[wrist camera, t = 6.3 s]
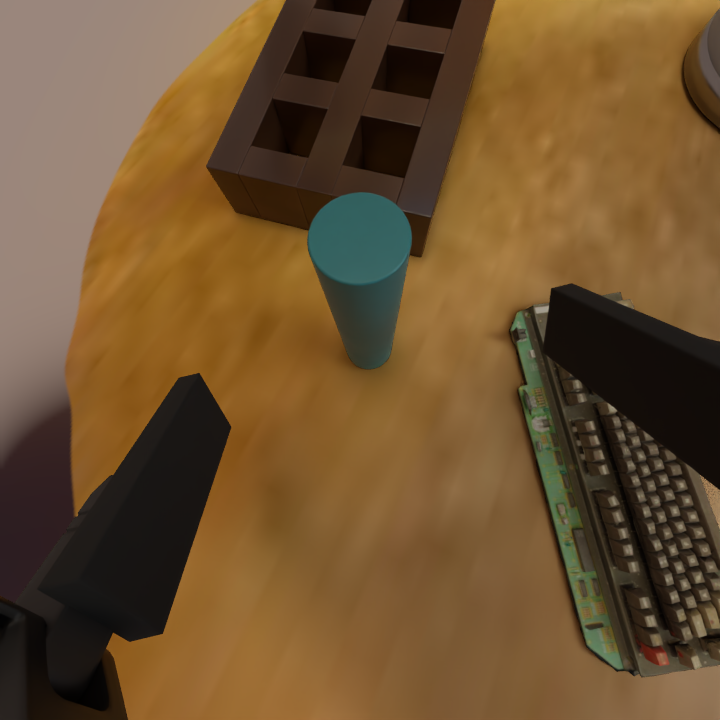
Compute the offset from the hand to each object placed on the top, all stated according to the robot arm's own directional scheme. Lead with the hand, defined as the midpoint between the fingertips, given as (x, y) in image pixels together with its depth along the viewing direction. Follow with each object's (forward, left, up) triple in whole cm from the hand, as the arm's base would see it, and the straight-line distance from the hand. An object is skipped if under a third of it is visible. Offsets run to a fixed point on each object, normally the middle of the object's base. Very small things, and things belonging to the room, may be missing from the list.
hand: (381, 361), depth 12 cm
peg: (+2, -3, -10) cm, 10 cm away
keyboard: (-15, 0, -10) cm, 18 cm away
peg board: (+8, -22, -10) cm, 25 cm away
